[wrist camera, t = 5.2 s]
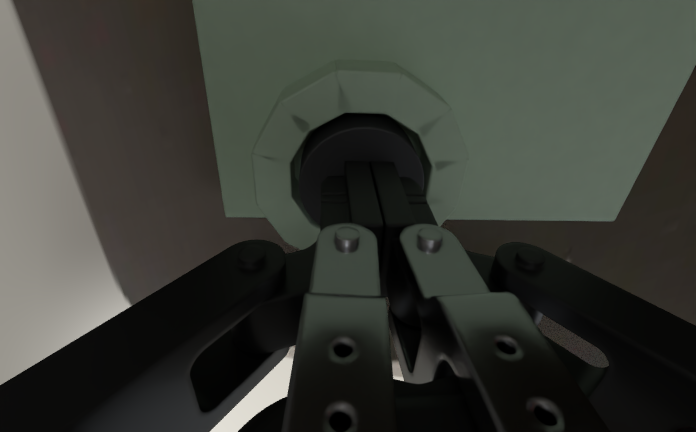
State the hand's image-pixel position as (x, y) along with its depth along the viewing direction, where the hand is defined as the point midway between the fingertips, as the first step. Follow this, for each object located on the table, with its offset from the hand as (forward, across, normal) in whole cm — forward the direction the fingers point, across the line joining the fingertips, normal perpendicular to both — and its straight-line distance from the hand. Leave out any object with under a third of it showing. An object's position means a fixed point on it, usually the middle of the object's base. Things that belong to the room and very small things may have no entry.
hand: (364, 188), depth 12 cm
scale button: (+2, 0, 0) cm, 2 cm away
